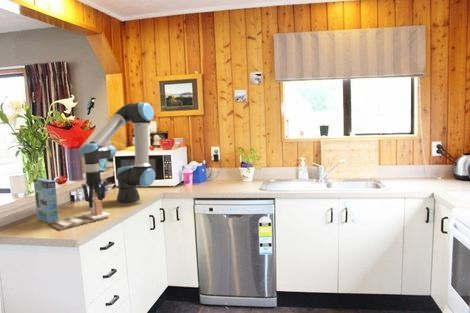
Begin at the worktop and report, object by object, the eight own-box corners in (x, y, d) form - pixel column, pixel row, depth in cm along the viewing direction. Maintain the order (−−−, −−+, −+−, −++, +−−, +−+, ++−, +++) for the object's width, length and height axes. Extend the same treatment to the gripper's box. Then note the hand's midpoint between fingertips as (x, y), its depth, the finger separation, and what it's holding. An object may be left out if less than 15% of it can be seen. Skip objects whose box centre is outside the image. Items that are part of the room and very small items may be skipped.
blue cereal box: (37, 218, 211) (32, 179, 208) (46, 216, 214) (42, 177, 212) (50, 224, 197) (45, 182, 195) (59, 221, 201) (55, 180, 199)
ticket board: (93, 214, 213) (93, 211, 213) (106, 219, 202) (106, 215, 202) (48, 225, 195) (47, 221, 195) (60, 230, 184) (59, 226, 184)
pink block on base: (99, 211, 215) (97, 196, 214) (111, 215, 205) (109, 199, 204) (82, 215, 207) (81, 200, 206) (93, 219, 198) (92, 203, 197)
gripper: (103, 168, 212) (106, 208, 214) (75, 172, 200) (79, 214, 203) (109, 169, 207) (112, 210, 209) (81, 173, 195) (85, 216, 198)
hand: (96, 212), depth 206 cm, fingers closed on pink block on base, 3 cm apart
